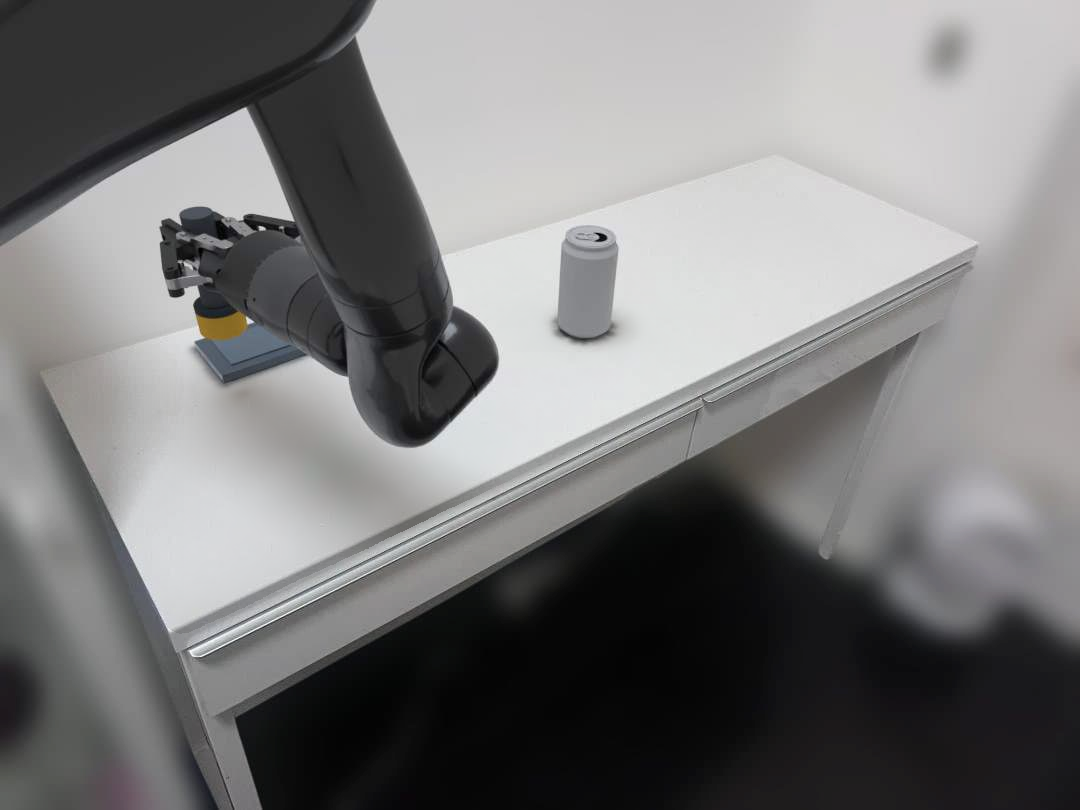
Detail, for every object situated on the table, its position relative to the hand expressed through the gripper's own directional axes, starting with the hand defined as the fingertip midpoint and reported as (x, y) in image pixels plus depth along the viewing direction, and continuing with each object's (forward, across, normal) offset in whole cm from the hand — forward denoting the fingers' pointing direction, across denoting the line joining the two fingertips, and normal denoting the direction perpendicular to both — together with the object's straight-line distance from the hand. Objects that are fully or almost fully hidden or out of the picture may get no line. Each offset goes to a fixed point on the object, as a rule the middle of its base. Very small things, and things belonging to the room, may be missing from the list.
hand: (184, 224), depth 74 cm
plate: (+3, -7, +18) cm, 19 cm away
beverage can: (-20, -36, +18) cm, 45 cm away
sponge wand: (-3, 0, +10) cm, 10 cm away
